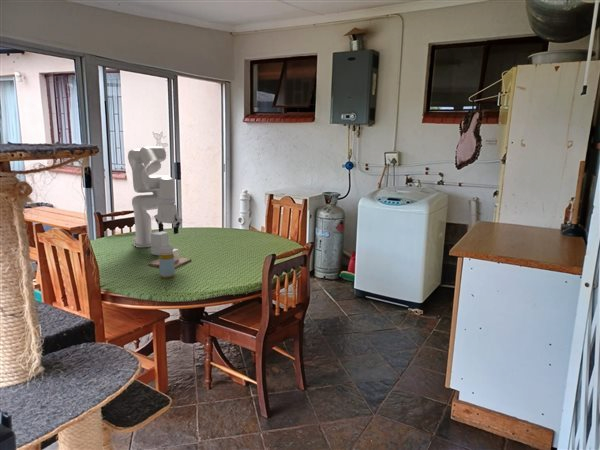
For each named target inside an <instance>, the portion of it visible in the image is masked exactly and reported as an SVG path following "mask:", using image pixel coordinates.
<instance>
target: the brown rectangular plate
mask: <svg viewBox="0 0 600 450" xmlns="http://www.w3.org/2000/svg"><path fill="white" fill-rule="evenodd" d="M190 262H192V258H188V257H180V256H179V260H177V261H175V262H174V268H175V269H177V268H180V267H181V266H184V265H187V264H188V263H190ZM148 266H150V267H157V268H160V267H159V258H158V259H156V260H154V261H151V262H148Z"/></svg>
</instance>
